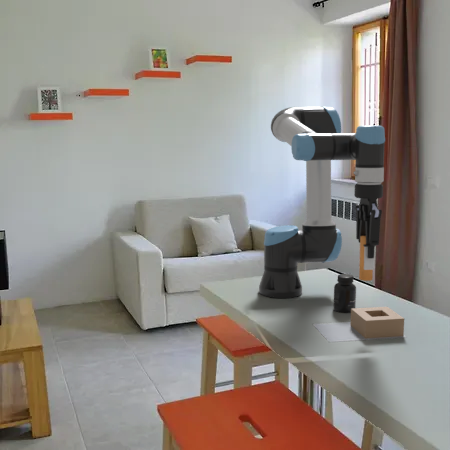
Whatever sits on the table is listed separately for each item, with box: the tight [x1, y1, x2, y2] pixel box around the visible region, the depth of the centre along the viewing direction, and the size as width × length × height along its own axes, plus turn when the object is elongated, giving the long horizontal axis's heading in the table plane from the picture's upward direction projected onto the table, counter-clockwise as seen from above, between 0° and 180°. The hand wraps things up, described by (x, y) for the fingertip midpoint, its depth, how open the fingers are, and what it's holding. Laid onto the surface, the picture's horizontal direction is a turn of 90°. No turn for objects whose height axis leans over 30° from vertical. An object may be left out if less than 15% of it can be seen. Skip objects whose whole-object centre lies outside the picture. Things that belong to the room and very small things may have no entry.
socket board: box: [312, 306, 407, 343], centre depth 166 cm, size 15×22×6 cm
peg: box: [358, 236, 374, 282], centre depth 163 cm, size 4×4×12 cm
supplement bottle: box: [332, 273, 357, 314], centre depth 185 cm, size 7×7×12 cm
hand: (366, 267), depth 164 cm, fingers closed on peg, 3 cm apart
